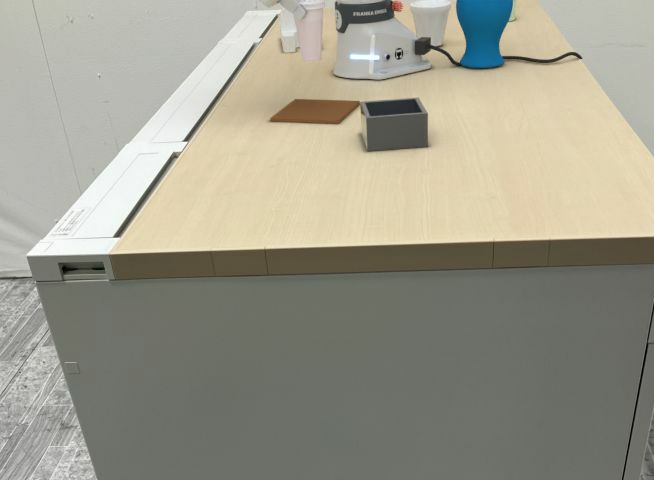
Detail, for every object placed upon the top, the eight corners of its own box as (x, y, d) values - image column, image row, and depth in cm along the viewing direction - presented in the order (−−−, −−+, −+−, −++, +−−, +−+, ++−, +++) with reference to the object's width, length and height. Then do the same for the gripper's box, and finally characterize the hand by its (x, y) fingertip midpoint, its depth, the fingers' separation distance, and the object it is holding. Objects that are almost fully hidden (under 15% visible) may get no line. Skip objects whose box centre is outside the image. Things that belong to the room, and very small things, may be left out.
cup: (456, 42, 208) (457, -1, 202) (442, 51, 201) (442, 7, 195) (419, 40, 211) (419, -2, 205) (404, 49, 204) (403, 6, 198)
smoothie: (290, 62, 156) (282, -25, 147) (301, 55, 161) (295, -30, 152) (321, 63, 155) (316, -25, 146) (332, 55, 159) (328, -30, 150)
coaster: (295, 101, 171) (295, 98, 170) (359, 104, 167) (359, 100, 167) (270, 121, 161) (270, 118, 160) (338, 123, 157) (338, 120, 157)
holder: (361, 133, 151) (360, 101, 148) (418, 129, 152) (418, 97, 148) (367, 151, 143) (366, 117, 140) (427, 146, 144) (427, 113, 140)
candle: (496, 21, 225) (497, -14, 220) (496, 18, 229) (498, -17, 224) (514, 21, 224) (516, -14, 219) (515, 17, 228) (517, -17, 223)
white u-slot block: (316, 35, 222) (313, -9, 216) (321, 49, 208) (318, 3, 202) (281, 38, 222) (276, -6, 215) (283, 52, 208) (279, 6, 201)
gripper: (243, -58, 139) (302, 9, 143) (286, -72, 154) (338, -11, 158) (223, -27, 143) (281, 37, 147) (267, -43, 158) (318, 16, 162)
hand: (311, 12), depth 153 cm, fingers closed on smoothie, 6 cm apart
